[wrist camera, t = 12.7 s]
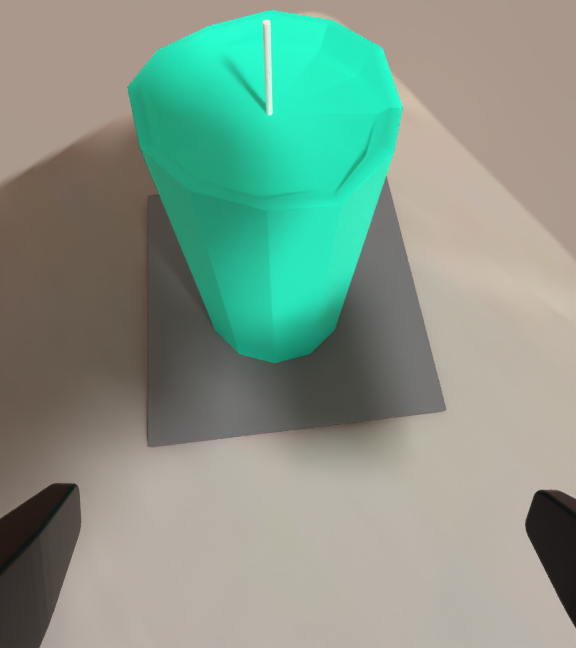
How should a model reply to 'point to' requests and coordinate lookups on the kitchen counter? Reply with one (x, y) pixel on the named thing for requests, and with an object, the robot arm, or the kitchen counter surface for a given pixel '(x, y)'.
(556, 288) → the kitchen counter surface
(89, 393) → the kitchen counter surface
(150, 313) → the mat
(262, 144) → the candle
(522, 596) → the kitchen counter surface
